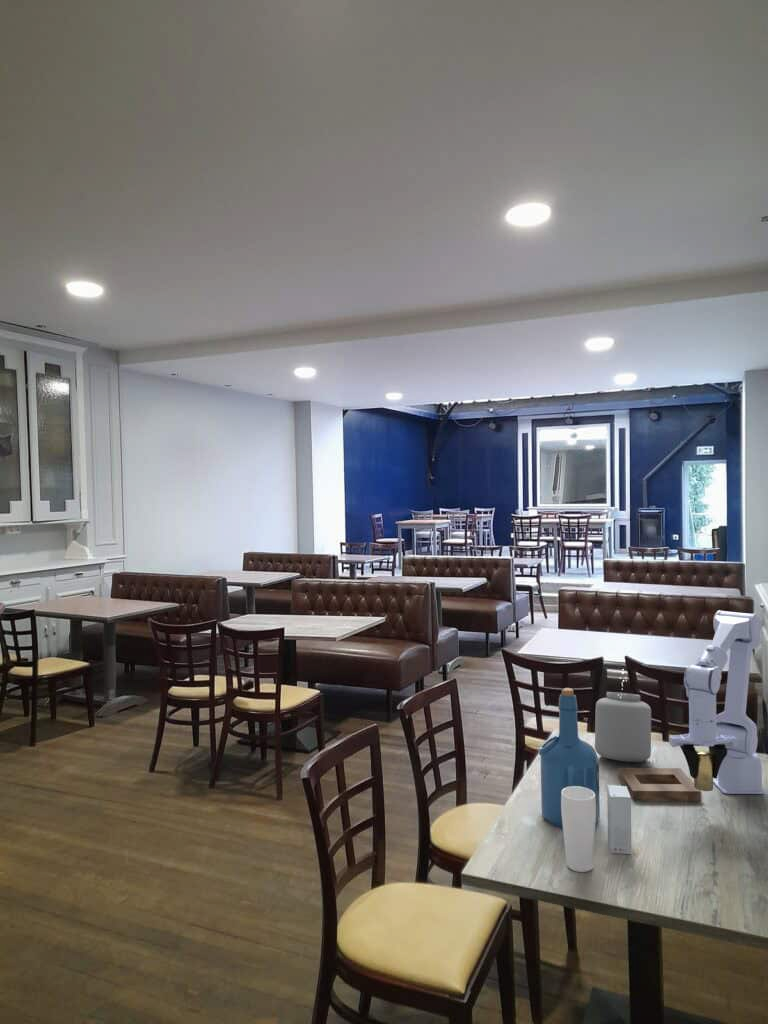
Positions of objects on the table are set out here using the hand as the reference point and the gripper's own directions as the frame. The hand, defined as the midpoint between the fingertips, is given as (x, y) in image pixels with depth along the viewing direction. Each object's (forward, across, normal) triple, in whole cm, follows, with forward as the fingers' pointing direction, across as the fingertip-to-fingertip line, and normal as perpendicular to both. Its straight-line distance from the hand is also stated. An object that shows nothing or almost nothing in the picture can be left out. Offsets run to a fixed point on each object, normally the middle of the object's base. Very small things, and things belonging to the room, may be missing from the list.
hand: (703, 776), depth 159 cm
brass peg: (+2, 0, 0) cm, 2 cm away
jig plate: (+9, -6, +14) cm, 18 cm away
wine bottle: (+9, -31, -2) cm, 32 cm away
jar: (+9, -9, +34) cm, 36 cm away
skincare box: (+9, -23, -15) cm, 29 cm away
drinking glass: (+9, -33, -23) cm, 41 cm away
